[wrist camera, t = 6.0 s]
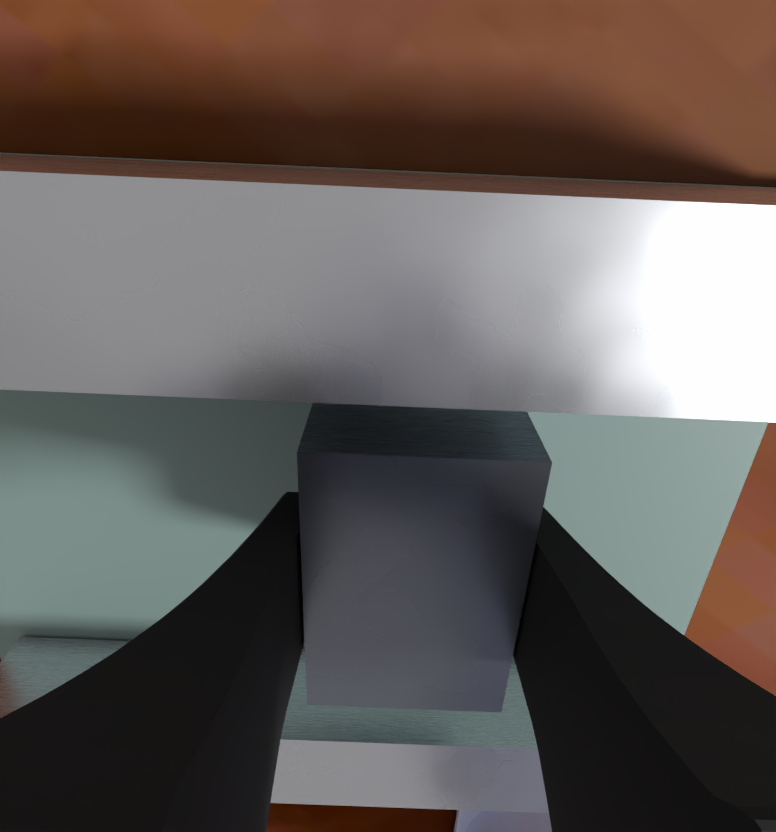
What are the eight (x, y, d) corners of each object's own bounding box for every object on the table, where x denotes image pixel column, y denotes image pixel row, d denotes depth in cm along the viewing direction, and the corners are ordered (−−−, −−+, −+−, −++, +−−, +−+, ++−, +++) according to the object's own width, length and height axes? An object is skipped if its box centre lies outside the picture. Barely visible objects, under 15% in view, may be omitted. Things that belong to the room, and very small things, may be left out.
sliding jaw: (622, 721, 19) (661, 817, 16) (42, 699, 19) (-18, 792, 16) (644, 661, 17) (690, 754, 15) (19, 636, 17) (-50, 726, 15)
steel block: (470, 550, 16) (501, 712, 11) (332, 544, 16) (307, 704, 11) (498, 353, 13) (552, 462, 9) (330, 346, 13) (297, 451, 8)
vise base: (634, 716, 20) (718, 916, 15) (36, 693, 20) (-91, 887, 15) (831, 189, 12) (1162, 223, 7) (-168, 144, 12) (-604, 143, 7)
